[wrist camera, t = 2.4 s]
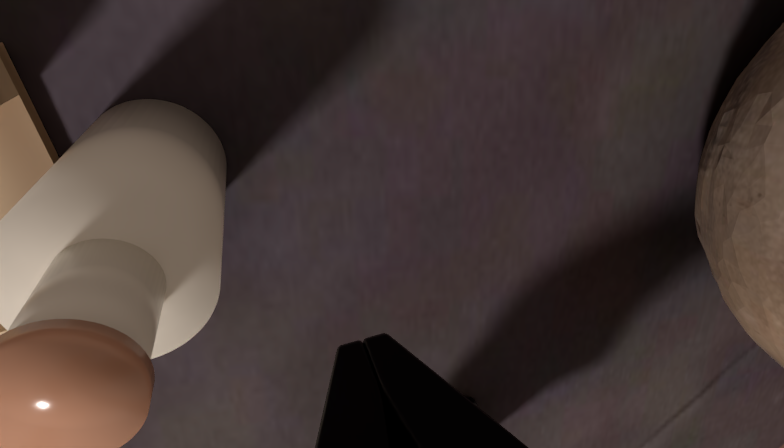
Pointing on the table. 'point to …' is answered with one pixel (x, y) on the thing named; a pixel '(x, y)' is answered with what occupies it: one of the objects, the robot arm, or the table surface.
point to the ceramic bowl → (748, 198)
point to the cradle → (19, 140)
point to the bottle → (108, 275)
